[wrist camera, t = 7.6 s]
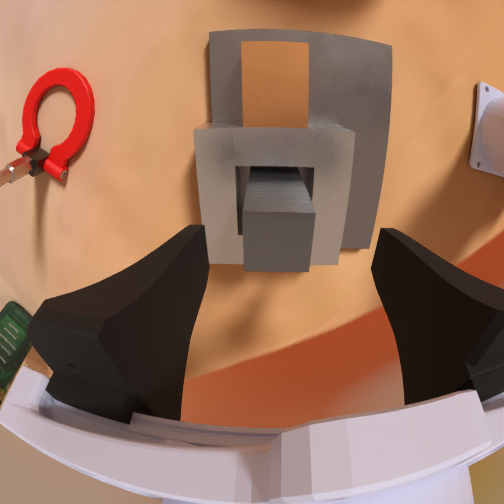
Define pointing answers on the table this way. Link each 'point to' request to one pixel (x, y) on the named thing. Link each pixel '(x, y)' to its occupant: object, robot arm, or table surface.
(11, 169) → the tow hook
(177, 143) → the table surface
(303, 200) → the pin
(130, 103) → the table surface
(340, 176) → the bracket fixture
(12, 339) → the coffee jar
